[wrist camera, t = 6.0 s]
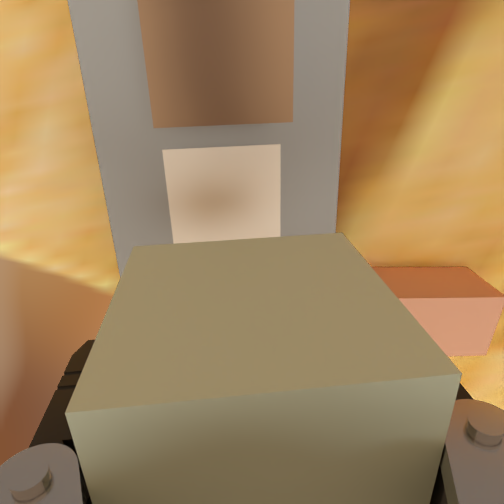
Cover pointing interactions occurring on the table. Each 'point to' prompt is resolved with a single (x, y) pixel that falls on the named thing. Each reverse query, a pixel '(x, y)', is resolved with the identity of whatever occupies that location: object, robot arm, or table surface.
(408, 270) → the lintel
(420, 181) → the table surface
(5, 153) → the table surface
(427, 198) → the table surface
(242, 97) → the walnut cube
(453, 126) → the table surface
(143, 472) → the sage cube
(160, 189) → the board
